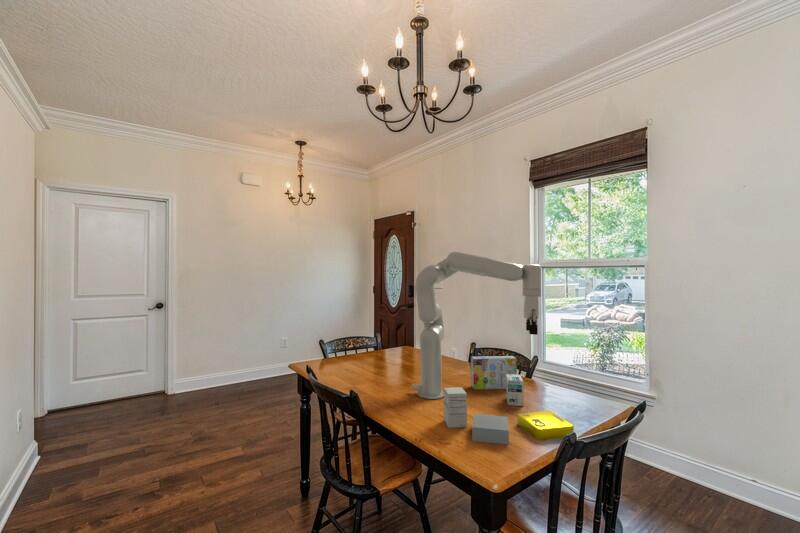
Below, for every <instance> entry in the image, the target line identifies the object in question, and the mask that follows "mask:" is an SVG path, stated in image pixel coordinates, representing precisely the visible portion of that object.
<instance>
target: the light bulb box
mask: <svg viewBox="0 0 800 533" xmlns="http://www.w3.org/2000/svg"><path fill="white" fill-rule="evenodd" d="M524 381H525V380H524V379H523V377H522V374H517V375H515V374H506V389H505V390H506V400H507V401H506V402H507V405H508V406H515V407H516V406H517V407H518V406H519V407H524V402H525V401H524V396H525V395H524V389H525V388H524Z"/></svg>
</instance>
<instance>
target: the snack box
mask: <svg viewBox="0 0 800 533" xmlns="http://www.w3.org/2000/svg"><path fill="white" fill-rule="evenodd" d="M517 369H518V368H517V358H516V357H515V356H513V355H504V356H501V355H498V356H495V355H494V356H492V355H491V356H470V374H471V376H470V377H471V378H470V379H471V380H470V382H471V385H470V386H471V388H472V389H473V390H506V374H515V375H518V373H517Z"/></svg>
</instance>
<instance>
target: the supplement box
mask: <svg viewBox="0 0 800 533" xmlns="http://www.w3.org/2000/svg"><path fill="white" fill-rule="evenodd" d="M443 391H444V397H443V420H444V422H445V424H446V426H447V429H448V428H450V429H452V428H453V429H454V428H467V427H468V414H467V413H468V393H467V392H466V391H465V389H464V388H463V387H460V386H458V387H457V386H456V387H444V388H443Z"/></svg>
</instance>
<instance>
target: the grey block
mask: <svg viewBox="0 0 800 533" xmlns="http://www.w3.org/2000/svg"><path fill="white" fill-rule="evenodd" d="M471 428H472V429H471V432H472V433H471V435H472V436H471V437H472V441H473V442H480V443H489V444H499V445H510V430H509V429H510V428H509V420H508V416H503V415H489V414H479V413H478V414H477V413H474V414H473V418H472V426H471Z"/></svg>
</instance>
